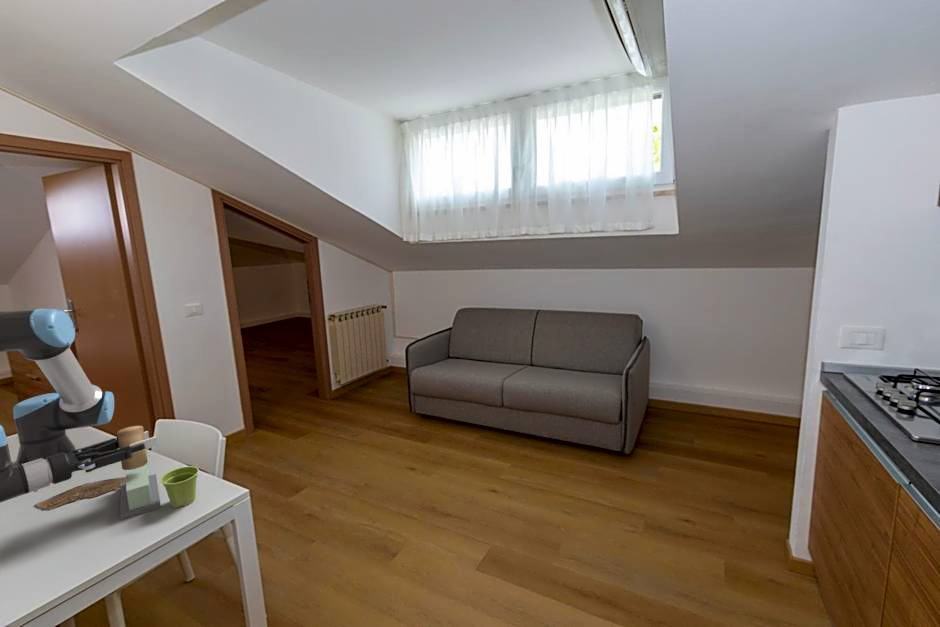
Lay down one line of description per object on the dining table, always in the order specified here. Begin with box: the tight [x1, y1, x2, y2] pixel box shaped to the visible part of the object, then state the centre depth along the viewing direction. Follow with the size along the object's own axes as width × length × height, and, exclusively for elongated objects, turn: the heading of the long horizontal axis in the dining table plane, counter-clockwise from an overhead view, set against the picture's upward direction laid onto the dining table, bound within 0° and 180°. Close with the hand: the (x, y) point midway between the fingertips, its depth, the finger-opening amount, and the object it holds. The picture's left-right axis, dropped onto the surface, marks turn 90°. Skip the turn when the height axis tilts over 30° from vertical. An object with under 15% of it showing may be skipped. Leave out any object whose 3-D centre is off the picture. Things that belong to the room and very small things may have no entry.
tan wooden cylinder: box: [117, 425, 148, 471], centre depth 126 cm, size 6×6×11 cm
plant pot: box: [160, 465, 200, 508], centre depth 126 cm, size 9×9×9 cm
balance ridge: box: [119, 464, 162, 521], centre depth 129 cm, size 20×9×8 cm, turn 39°
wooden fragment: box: [33, 476, 126, 511], centre depth 133 cm, size 26×11×1 cm, turn 128°
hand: (152, 438), depth 130 cm, fingers closed on tan wooden cylinder, 6 cm apart
